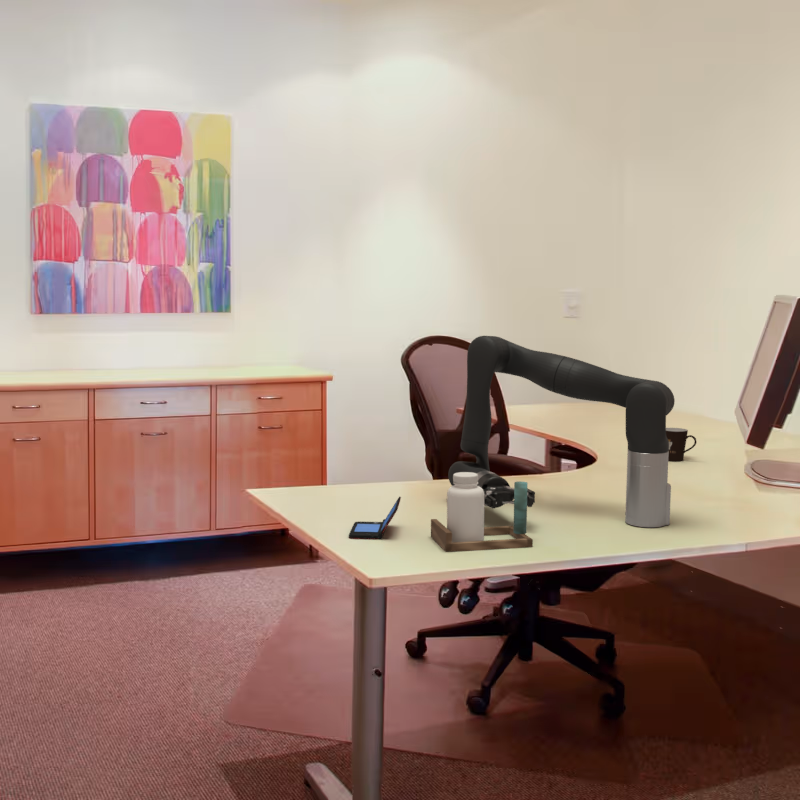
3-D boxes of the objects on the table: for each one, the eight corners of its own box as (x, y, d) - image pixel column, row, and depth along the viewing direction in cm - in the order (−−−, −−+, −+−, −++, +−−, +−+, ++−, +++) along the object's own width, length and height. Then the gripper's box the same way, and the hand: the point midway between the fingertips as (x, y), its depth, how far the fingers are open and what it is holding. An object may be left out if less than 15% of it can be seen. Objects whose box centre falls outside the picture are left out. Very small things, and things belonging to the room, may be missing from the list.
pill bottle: (438, 542, 202) (439, 473, 200) (463, 536, 208) (464, 469, 206) (466, 550, 197) (467, 479, 195) (491, 543, 202) (492, 474, 200)
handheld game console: (354, 526, 217) (354, 494, 217) (401, 527, 217) (401, 495, 216) (347, 540, 205) (347, 506, 204) (397, 541, 204) (397, 507, 203)
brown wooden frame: (516, 532, 211) (517, 477, 210) (536, 546, 199) (537, 488, 198) (430, 537, 207) (431, 480, 205) (446, 551, 195) (446, 492, 193)
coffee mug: (653, 458, 309) (654, 428, 307) (676, 457, 311) (677, 427, 310) (674, 464, 298) (675, 433, 296) (697, 463, 300) (699, 432, 299)
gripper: (461, 474, 223) (482, 487, 207) (518, 472, 226) (543, 485, 210) (460, 505, 223) (481, 521, 208) (517, 502, 227) (542, 518, 211)
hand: (512, 503), depth 209 cm, fingers open, 8 cm apart
